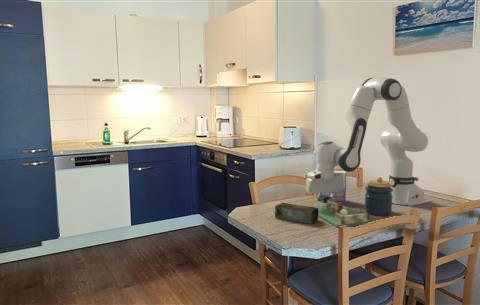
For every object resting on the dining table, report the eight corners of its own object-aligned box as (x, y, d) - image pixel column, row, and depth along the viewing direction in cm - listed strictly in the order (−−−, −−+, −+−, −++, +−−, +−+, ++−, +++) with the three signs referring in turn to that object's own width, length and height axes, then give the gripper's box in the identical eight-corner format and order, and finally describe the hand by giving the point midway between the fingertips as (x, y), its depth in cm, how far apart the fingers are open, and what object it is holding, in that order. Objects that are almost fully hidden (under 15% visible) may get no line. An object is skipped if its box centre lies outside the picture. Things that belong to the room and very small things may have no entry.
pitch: (338, 205, 209) (339, 200, 208) (375, 223, 181) (375, 216, 180) (304, 208, 203) (304, 203, 202) (336, 227, 174) (336, 220, 174)
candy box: (344, 199, 221) (345, 170, 218) (345, 202, 215) (346, 172, 212) (319, 198, 223) (320, 169, 221) (319, 201, 217) (320, 171, 215)
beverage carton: (281, 213, 195) (282, 200, 194) (319, 220, 185) (319, 206, 184) (274, 218, 189) (274, 204, 188) (312, 225, 178) (313, 210, 177)
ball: (344, 215, 189) (345, 207, 189) (349, 217, 186) (349, 209, 185) (338, 215, 188) (338, 208, 187) (342, 218, 185) (342, 210, 184)
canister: (366, 215, 192) (368, 179, 190) (362, 207, 205) (363, 174, 202) (394, 216, 190) (396, 180, 188) (388, 209, 203) (390, 175, 201)
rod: (319, 204, 206) (319, 194, 205) (324, 203, 206) (324, 194, 206) (336, 213, 190) (337, 203, 189) (342, 213, 191) (342, 202, 190)
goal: (361, 217, 186) (361, 210, 185) (369, 221, 180) (369, 213, 180) (334, 220, 181) (335, 212, 181) (342, 224, 176) (342, 216, 175)
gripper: (339, 171, 208) (338, 197, 210) (304, 173, 201) (303, 200, 203) (346, 173, 202) (345, 200, 204) (310, 176, 195) (309, 203, 197)
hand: (324, 200), depth 203 cm, fingers open, 6 cm apart
